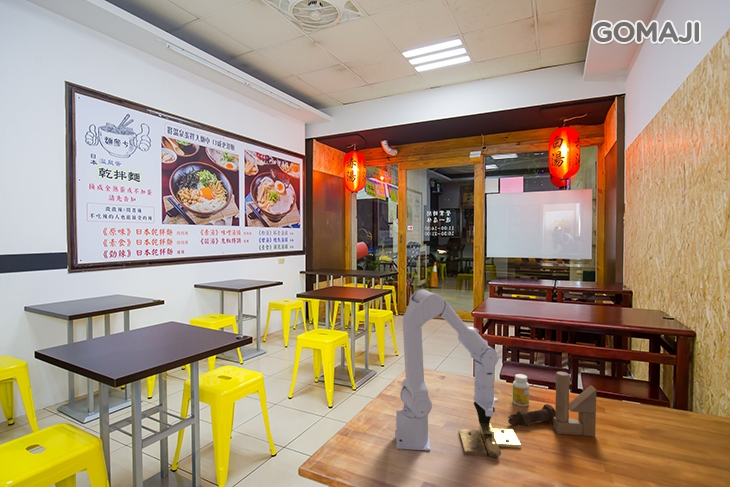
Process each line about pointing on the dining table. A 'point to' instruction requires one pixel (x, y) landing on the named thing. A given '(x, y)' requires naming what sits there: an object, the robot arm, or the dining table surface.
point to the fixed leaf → (478, 444)
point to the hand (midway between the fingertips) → (483, 427)
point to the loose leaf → (499, 435)
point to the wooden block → (574, 409)
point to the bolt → (532, 416)
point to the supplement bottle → (521, 390)
